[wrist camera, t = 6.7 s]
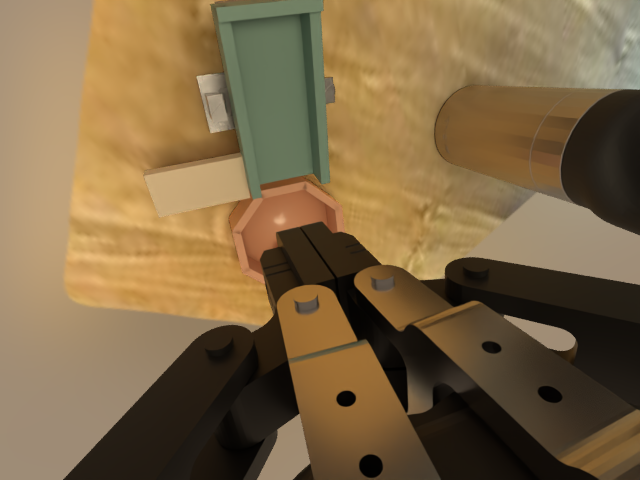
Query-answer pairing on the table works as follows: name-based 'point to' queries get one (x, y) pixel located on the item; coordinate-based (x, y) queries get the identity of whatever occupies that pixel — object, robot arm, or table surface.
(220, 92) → the chute stand
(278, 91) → the chute
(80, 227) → the table surface
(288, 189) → the pink octagonal bowl
